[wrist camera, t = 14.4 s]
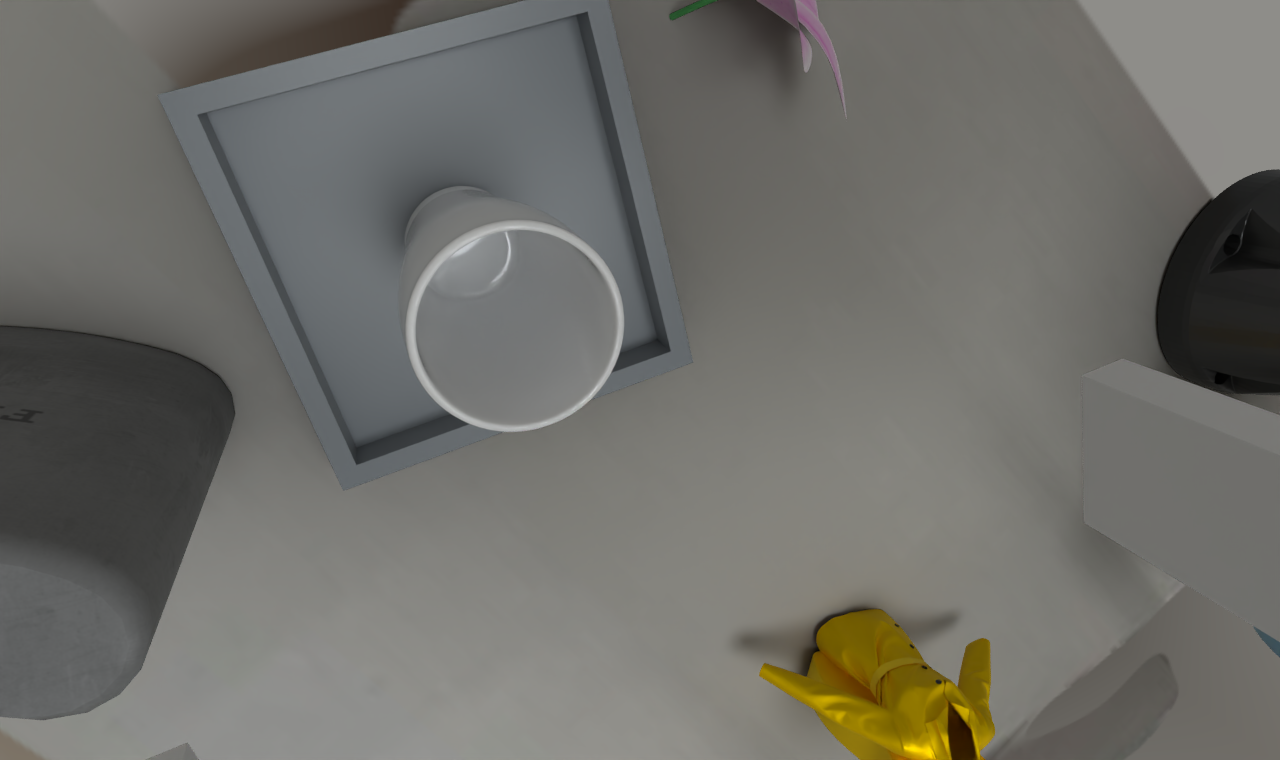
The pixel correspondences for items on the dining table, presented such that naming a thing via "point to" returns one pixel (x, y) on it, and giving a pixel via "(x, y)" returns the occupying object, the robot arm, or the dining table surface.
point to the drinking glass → (505, 311)
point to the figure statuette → (892, 692)
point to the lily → (796, 7)
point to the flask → (94, 508)
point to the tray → (406, 175)
